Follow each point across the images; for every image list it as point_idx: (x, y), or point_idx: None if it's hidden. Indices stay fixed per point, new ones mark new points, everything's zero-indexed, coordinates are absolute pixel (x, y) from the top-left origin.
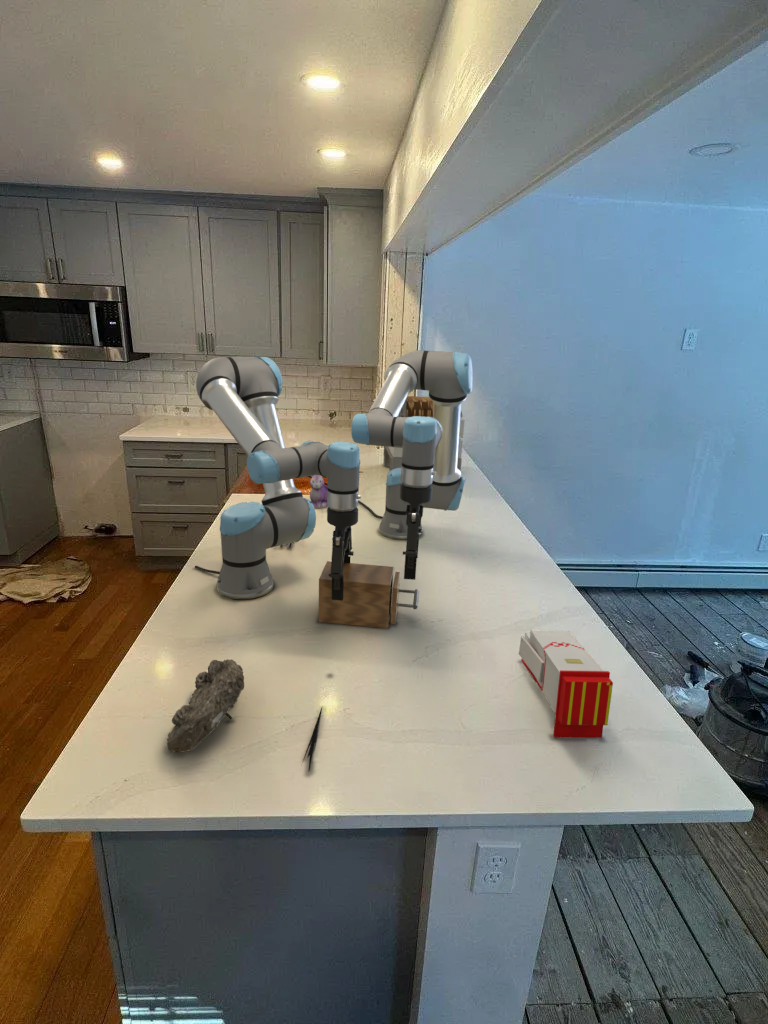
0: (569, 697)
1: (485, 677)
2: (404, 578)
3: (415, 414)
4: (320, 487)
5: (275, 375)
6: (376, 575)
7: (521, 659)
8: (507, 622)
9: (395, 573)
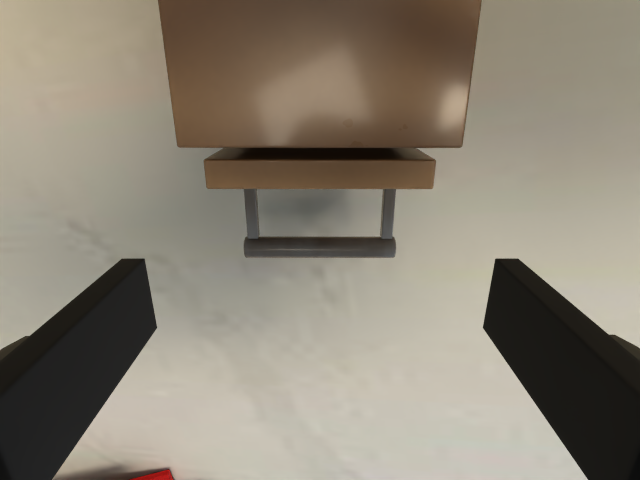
0: None
1: None
2: (121, 264)
3: None
4: None
5: None
6: (296, 29)
7: (168, 472)
8: (350, 456)
9: (405, 161)
